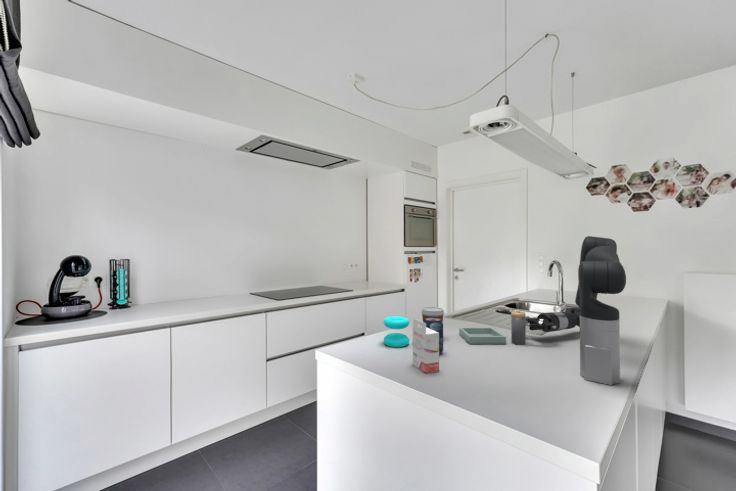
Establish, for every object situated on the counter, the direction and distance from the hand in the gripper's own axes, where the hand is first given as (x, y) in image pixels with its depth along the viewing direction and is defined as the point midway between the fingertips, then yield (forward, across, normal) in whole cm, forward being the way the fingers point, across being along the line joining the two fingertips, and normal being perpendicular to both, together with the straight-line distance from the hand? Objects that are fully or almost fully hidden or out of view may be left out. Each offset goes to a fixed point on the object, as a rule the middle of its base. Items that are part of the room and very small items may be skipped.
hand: (521, 324), depth 124 cm
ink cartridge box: (+48, +10, +7) cm, 49 cm away
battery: (+1, 0, +7) cm, 7 cm away
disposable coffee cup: (+29, -18, +7) cm, 35 cm away
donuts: (+46, -16, +7) cm, 49 cm away
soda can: (+38, -2, +7) cm, 39 cm away
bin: (+11, -9, +7) cm, 16 cm away
